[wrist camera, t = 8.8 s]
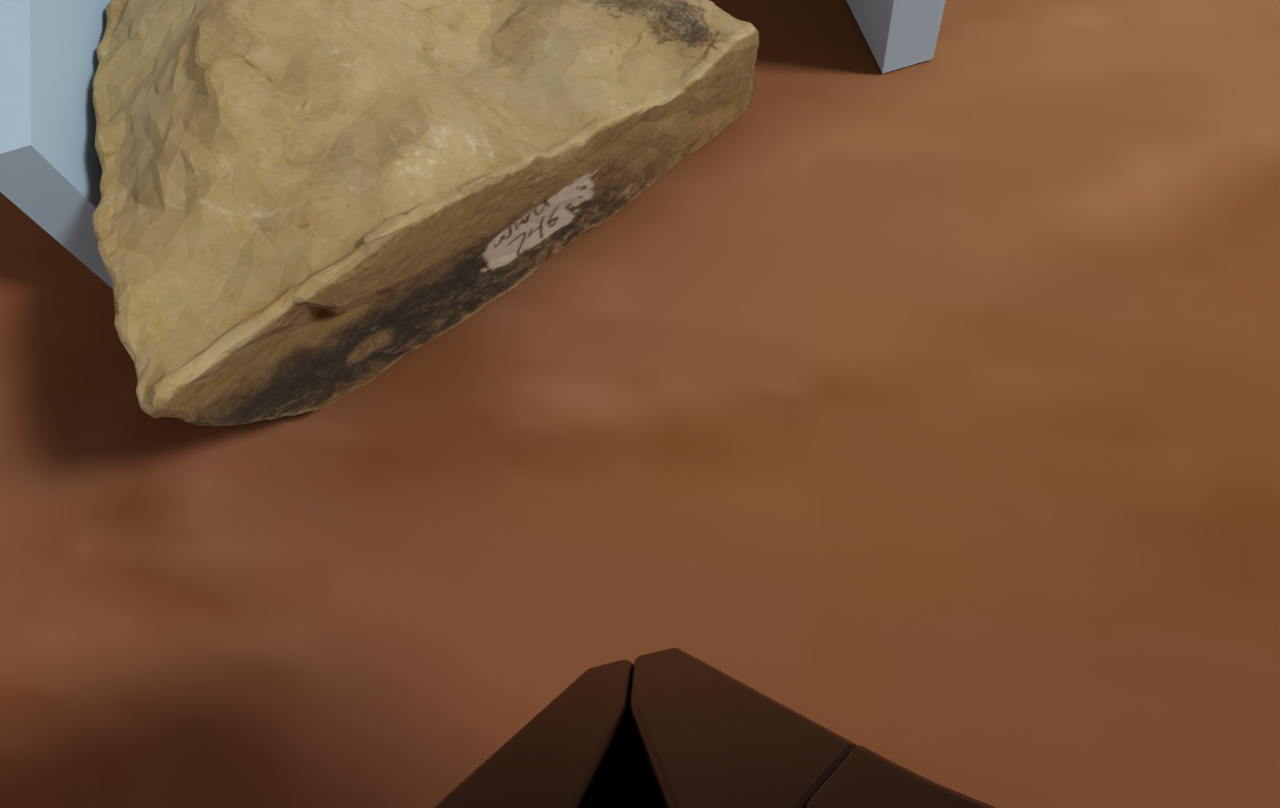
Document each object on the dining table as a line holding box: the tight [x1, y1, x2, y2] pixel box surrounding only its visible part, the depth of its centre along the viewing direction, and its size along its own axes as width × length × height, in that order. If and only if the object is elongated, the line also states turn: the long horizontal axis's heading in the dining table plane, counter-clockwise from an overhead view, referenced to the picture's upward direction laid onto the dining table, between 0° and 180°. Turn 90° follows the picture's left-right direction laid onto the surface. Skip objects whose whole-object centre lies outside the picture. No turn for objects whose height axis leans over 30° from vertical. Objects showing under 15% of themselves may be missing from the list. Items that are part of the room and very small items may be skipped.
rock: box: [92, 0, 759, 426], centre depth 16 cm, size 11×9×10 cm
